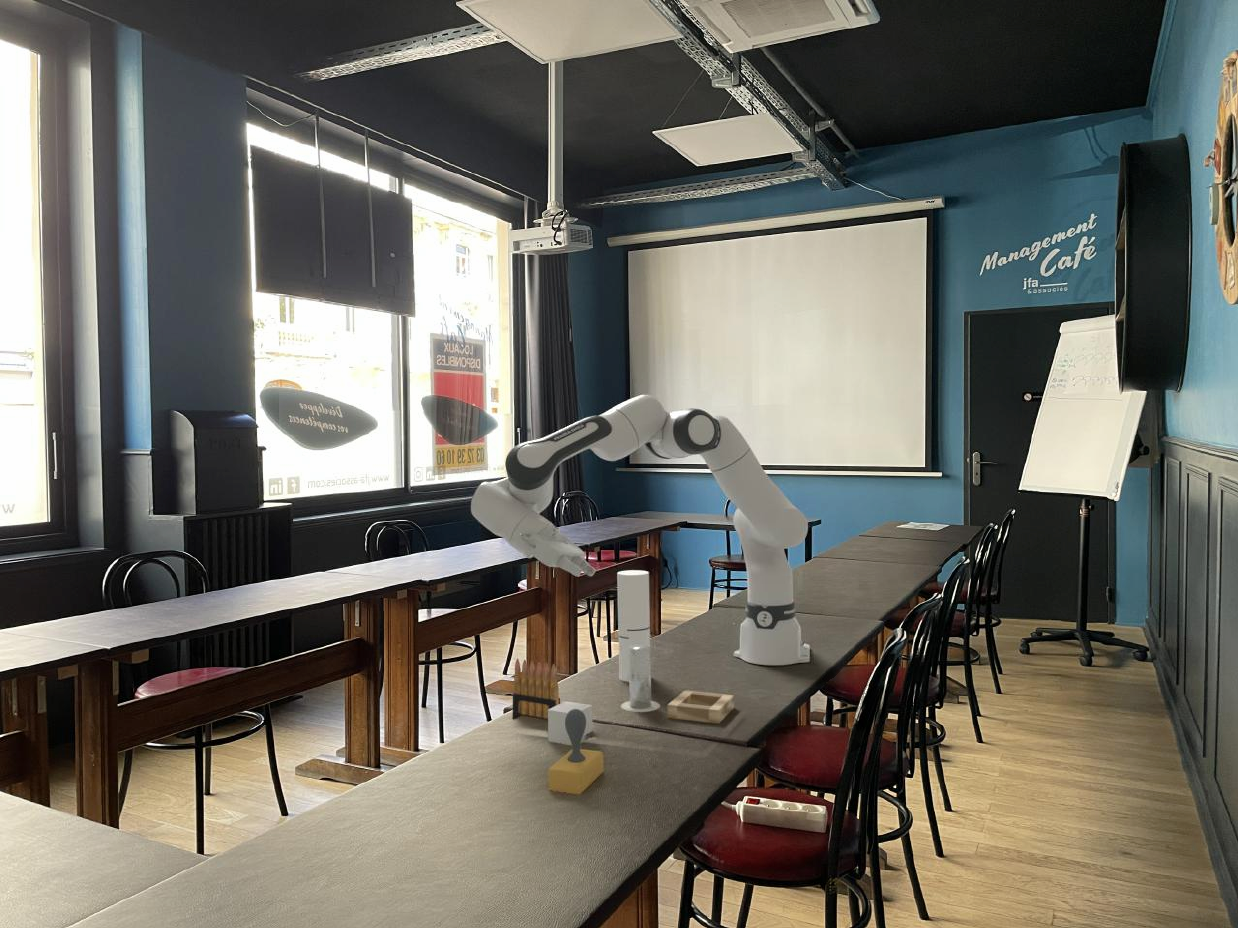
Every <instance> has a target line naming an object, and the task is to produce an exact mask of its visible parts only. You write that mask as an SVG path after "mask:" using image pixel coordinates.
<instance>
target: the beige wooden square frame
mask: <svg viewBox="0 0 1238 928" xmlns="http://www.w3.org/2000/svg"><path fill="white" fill-rule="evenodd" d="M666 706H667V707H666V708H667V709H666V710H667V718H668V719H675V720H685V721H691V722H692V721H693V722H701V723H702V722H703V723H710V724H711V723H712V724H721V722H722V721H723V720H724V719H725V718H726V717H727V716H728V715H729V714H730V713H731V712H732V711H733V710H734V708H735V695H734V694H727V693H726V694H723V693H716V692H715V693H714V692H706V691H705V692H704V691H694V690H692V691H691V690H684V691H682V692H681V693H680V694H679V695H677V696H676V697H674V699H673V700H671V701H670V702H669V703H668V704H666Z"/></svg>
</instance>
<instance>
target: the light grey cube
mask: <svg viewBox="0 0 1238 928" xmlns="http://www.w3.org/2000/svg"><path fill="white" fill-rule="evenodd" d="M573 709H578V710H580V711H582V712H583V713H584V715H585V717H586V727H585V731H584V734H583V737H582V740H581V743H580V745H581V744H583V743H584V742H585V741H587V740H589V739H591V738H592V737H593V735H588V734H590V733H592V732H594V731H593V705H592V704H586V703H579V702H572V701H565V700H564V701H563V702H560V704H559V705H557V706H555V707H553V708H551V709H549V710H548V720H547V728H548V729H547V730H548V731H547V732H548V733H547V734H548V735H547V736H548V742H550V743H555V742H556V743H555V744H560V743H561V745H566V746H572V744H571V741H570V738H569V736H568V733H567V731H566V727H565V718H566V716H567V714H568V712H569V711H571V710H573Z"/></svg>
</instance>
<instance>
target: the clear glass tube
mask: <svg viewBox="0 0 1238 928" xmlns="http://www.w3.org/2000/svg"><path fill="white" fill-rule="evenodd" d="M651 665H652V664H651V645H650V646H647V645H633V646H630V647H629V682H628V684H629V685H628V686H629V687H628V688H629V690H628V691H629V701H630V707H631V708H634V709H646V708H650V707H651V701H652V675H651V673H652V670H651V669H652V667H651Z"/></svg>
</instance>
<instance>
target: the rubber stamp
mask: <svg viewBox="0 0 1238 928" xmlns="http://www.w3.org/2000/svg"><path fill="white" fill-rule="evenodd" d="M565 727H566V731H567V733H568V736H569V738H570V741H571V744H572V745H571V749H570V750H569V751H568V752H567V753H566V754H564V755H563V756H562V757H561V758H560V759H558V760H557V761H556V762H555V763H554V764H553V765H551V766H550V767H549V768H548V772H547V773H548V790H549V791H550V790H553V791H552V792H556V791H559V793H564V792H566V793H565V794H571V793H572V795H573V794H574V795H581V794H583V792H584V791H585V790H586V789H587V788H588V787H589V786H590V785H592V783H593V782H594V781H596V779H598V778H599V776H601V775H602V773H604V753H603V751H601V750H593V749H592V750H591V749H583V748H581V744H582V743H581V740H582V737H583V734H584V731H585V727H586V717H585V715H584V713H583V712H582V711H580V710H578V709H573V710H571V711H569V712H568V714H567V716H566V718H565ZM580 743H581V744H580Z"/></svg>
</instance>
